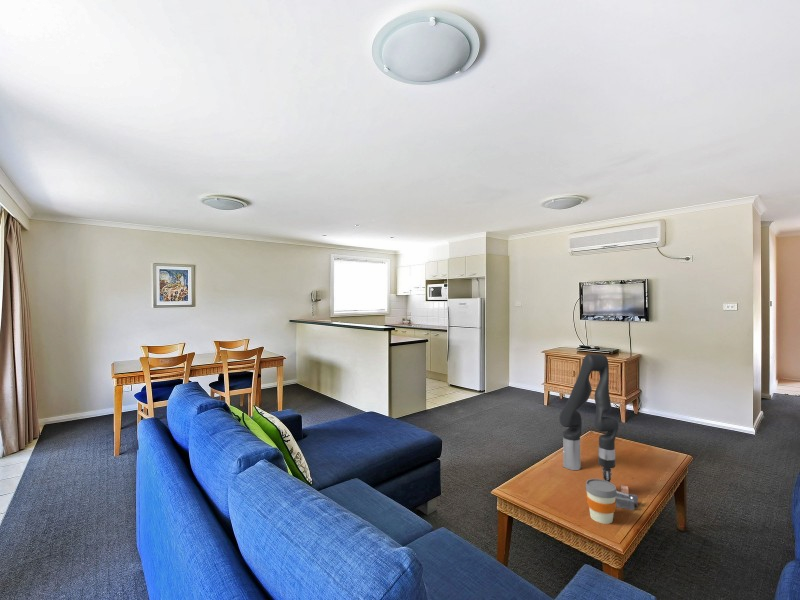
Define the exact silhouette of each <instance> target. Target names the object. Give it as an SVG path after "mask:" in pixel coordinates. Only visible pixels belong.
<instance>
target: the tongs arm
mask: <svg viewBox="0 0 800 600" xmlns="http://www.w3.org/2000/svg"><path fill="white" fill-rule="evenodd" d="M616 492H617V495H616V497H621V498H627V499H632V500H634V508H638V505H639V503H638V501H639V500H638V499H639V498H638V497H639V496H638V495H637V494H634V493H628V494H629V495H628V494H625V493H622V492H621V491H618V490H616Z"/></svg>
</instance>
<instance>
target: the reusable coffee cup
mask: <svg viewBox="0 0 800 600" xmlns="http://www.w3.org/2000/svg"><path fill="white" fill-rule="evenodd" d="M585 491H586V494H585V495H586V501H587V507H588V508H589V509H588V510H589V514H590V518H591V519H592V520H593V521H595V522H597V523H600V524H604V525H605V524H606V525H608V524H612V523H613V519H614V514H615V512H616V508H617V507H616V495H617V492H616V491H617V487H616V485H615V484H614V483H612V482H611V481H610V482H608V481H605V480H604V479H600V478H589V479H587V480H586V481H585Z"/></svg>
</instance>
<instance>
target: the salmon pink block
mask: <svg viewBox="0 0 800 600" xmlns="http://www.w3.org/2000/svg"><path fill="white" fill-rule="evenodd" d="M620 492H622V493H625V494H628V495H629V494H630V493H629V486H627V485H623V484H622V485H621V484H620Z"/></svg>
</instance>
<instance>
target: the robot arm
mask: <svg viewBox="0 0 800 600" xmlns="http://www.w3.org/2000/svg"><path fill="white" fill-rule="evenodd" d="M609 368H610V367H609V359H608V357H607V356H606V355H605V354H602V353H601V354H600V353H599V354H598V353H587V354H586V355H584V357H583V359H582V363H581V366H580V370H579V373H578V375H577V378H576V380H575V383H574V385H573V387H572V389H571V392H570V394H569V396H568V399H567V401H566V402H565V404H564V406H563V408H562V410H561V412H560V414H559V418H558V419H559V423H560V425H561V426H562V427H565V428H567V429H566V430H564V431H563V433H562V446H563V447H562V448H563V449H562V459H563V460H562V463H563V464H562V465H563V466H562V467H563V468H565V469H567V470H571V471H579V470H581V468H582V467H581V464H582V463H581V435H582V427H583V426H582V423H583V422H582V416H581V413H580V412H579V411H578V410H579V409H580V408H581V407H583V406H584V405H585V404H586V403H587V402H588V400H589V399H590V397H591V394H592V390H593V389H592V385H591V382H590V376H591V373H592V372H598V373H599V380H598V384H597V386H596V388H595V391H594V401H595V419H594V427H595V429H596V430H597V431H598V432H606V433H603V434H600V435H599V437H598V452H597V453H598V454H597V455H598V458H597V459H598V465H599V466H600V467H601V469H602V478H603V479H602V480H605V481H608V482H610V483H611V481H612V469H615V467H616V450H615V449H616V447H615V441H616V437H617V434H618V431H619V427H620V426H619V425H620V424H619V422H618V420H617V418H615V417H613V416H604V414H605V413H609V412H610V413H611V411H612V403H611V397H610V386H609V385H610V382H609V381H610V378H609V377H610V376H609V374H610V373H609V371H610V370H609Z"/></svg>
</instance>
